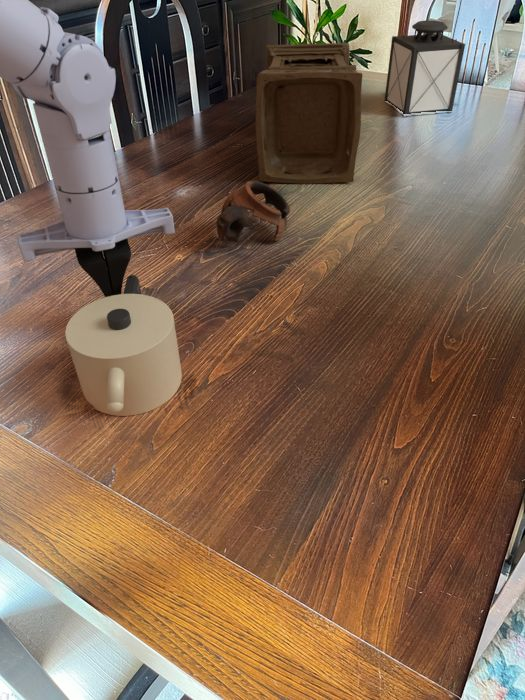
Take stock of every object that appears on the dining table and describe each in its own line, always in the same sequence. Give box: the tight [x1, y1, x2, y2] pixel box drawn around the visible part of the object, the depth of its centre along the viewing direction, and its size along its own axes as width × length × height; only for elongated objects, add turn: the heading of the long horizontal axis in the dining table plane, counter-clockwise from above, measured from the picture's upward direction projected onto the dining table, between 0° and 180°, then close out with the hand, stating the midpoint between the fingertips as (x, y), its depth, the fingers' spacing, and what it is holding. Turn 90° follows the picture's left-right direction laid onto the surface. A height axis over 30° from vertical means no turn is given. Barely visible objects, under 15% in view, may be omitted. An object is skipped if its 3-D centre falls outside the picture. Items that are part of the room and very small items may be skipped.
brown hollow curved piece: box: [215, 180, 291, 243], centre depth 77 cm, size 12×10×8 cm
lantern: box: [384, 0, 466, 114], centre depth 114 cm, size 11×11×28 cm
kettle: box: [64, 274, 183, 417], centre depth 52 cm, size 17×10×8 cm, turn 3°
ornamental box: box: [255, 42, 363, 185], centre depth 100 cm, size 35×18×18 cm, turn 177°
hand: (114, 303), depth 59 cm, fingers closed
